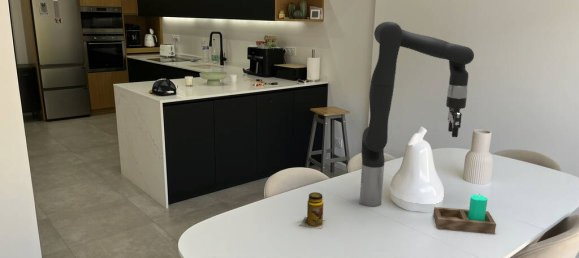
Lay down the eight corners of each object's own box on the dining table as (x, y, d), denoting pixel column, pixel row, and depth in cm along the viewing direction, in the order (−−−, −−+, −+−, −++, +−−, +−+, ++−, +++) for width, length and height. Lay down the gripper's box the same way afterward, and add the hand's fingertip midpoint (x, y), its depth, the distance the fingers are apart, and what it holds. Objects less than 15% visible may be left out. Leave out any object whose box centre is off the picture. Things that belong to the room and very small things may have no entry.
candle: (485, 227, 166) (490, 197, 163) (469, 225, 167) (472, 196, 164) (482, 220, 171) (486, 191, 168) (466, 218, 172) (469, 190, 169)
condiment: (321, 228, 165) (322, 199, 162) (299, 225, 168) (300, 196, 165) (325, 220, 172) (326, 192, 169) (304, 217, 175) (305, 189, 172)
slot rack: (437, 228, 166) (438, 219, 165) (433, 216, 177) (434, 206, 176) (494, 233, 163) (496, 224, 162) (487, 220, 174) (488, 211, 173)
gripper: (444, 92, 187) (440, 129, 191) (450, 98, 174) (446, 138, 178) (463, 93, 186) (458, 130, 190) (470, 99, 172) (465, 139, 176)
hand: (452, 134), depth 184 cm, fingers open, 8 cm apart
